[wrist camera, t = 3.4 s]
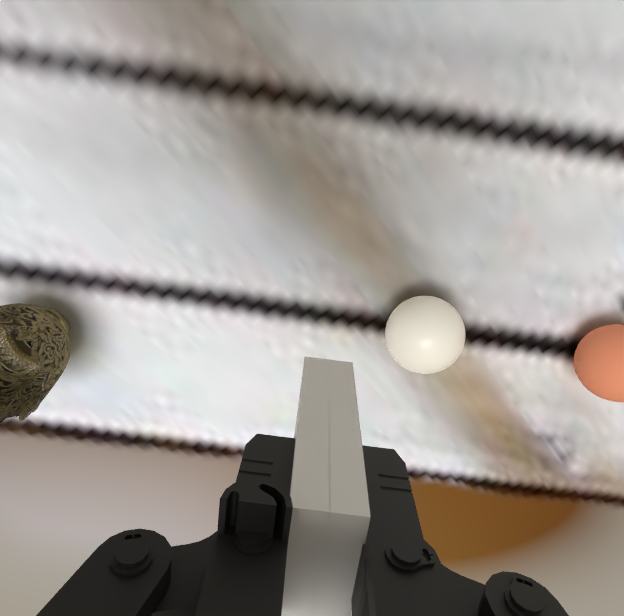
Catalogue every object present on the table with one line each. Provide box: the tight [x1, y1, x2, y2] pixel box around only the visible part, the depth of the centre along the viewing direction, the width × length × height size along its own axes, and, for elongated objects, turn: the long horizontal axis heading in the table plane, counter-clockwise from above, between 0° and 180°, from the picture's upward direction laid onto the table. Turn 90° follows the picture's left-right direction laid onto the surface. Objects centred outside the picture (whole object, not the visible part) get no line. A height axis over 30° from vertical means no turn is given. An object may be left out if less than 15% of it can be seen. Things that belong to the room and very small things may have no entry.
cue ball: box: [385, 296, 465, 374], centre depth 34 cm, size 6×6×6 cm
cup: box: [0, 304, 70, 423], centre depth 34 cm, size 8×7×8 cm
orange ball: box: [574, 324, 624, 402], centre depth 35 cm, size 6×6×6 cm
